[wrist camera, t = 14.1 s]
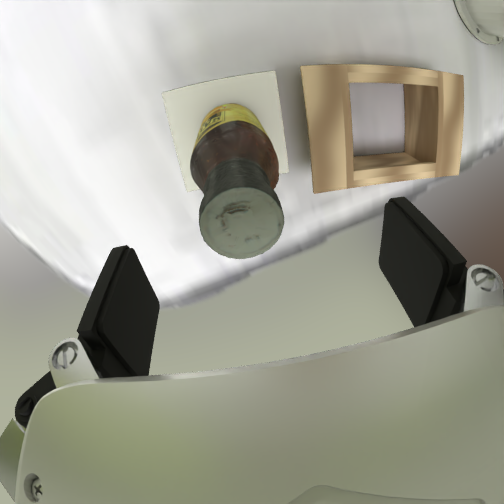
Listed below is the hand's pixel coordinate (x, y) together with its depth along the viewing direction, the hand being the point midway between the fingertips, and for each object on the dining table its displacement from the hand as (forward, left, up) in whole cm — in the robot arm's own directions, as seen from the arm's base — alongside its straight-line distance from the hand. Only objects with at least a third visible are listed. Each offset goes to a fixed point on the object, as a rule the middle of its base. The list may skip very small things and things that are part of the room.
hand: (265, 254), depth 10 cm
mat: (+1, 0, -24) cm, 24 cm away
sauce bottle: (0, 0, -23) cm, 23 cm away
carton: (-16, 0, -24) cm, 29 cm away
